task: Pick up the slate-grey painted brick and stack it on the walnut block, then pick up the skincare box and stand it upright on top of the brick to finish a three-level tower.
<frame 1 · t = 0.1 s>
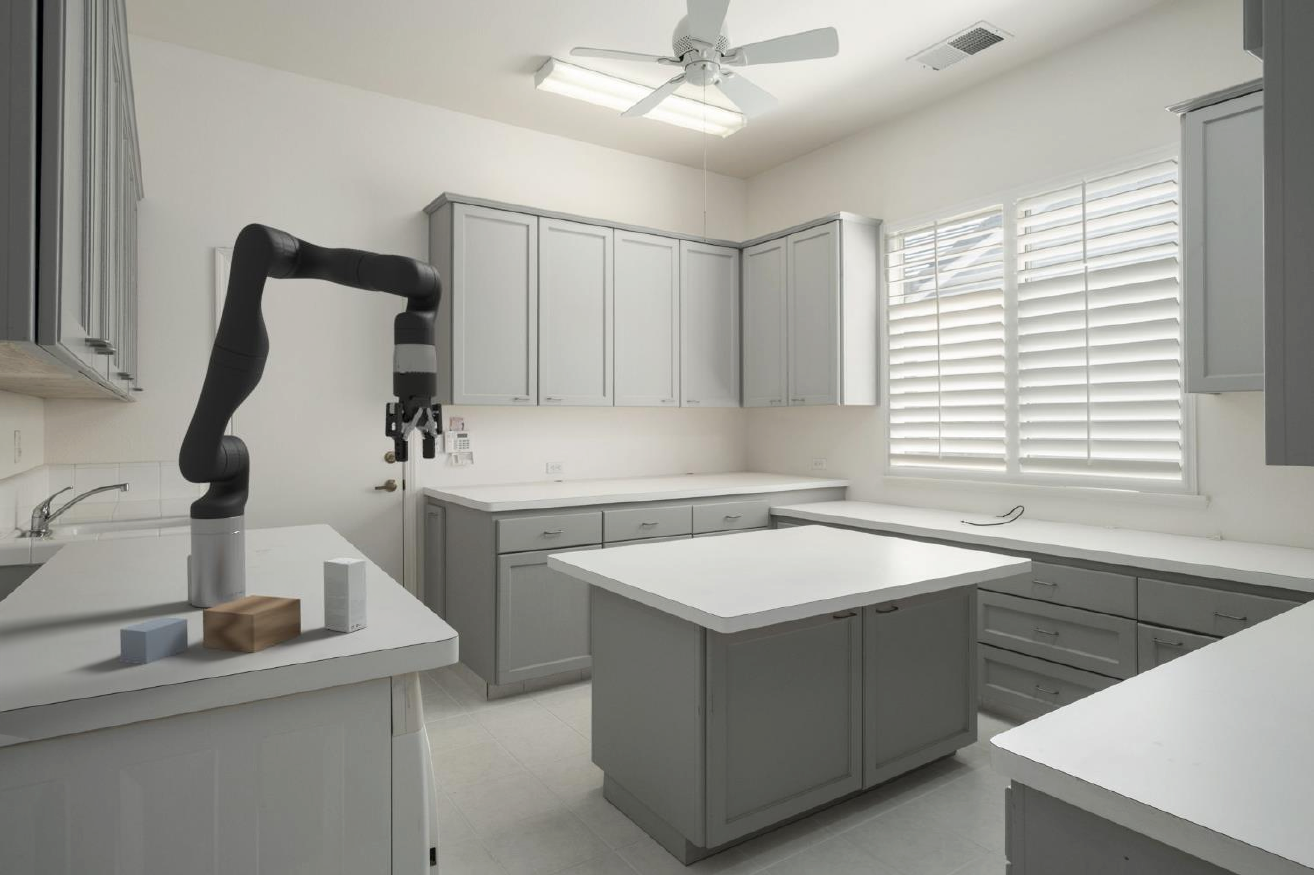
hand: (415, 460, 132), 29 cm above the countertop, tool pointing down, fingers open, 8 cm apart
slate brick: (155, 655, 113), on the countertop
skincare box: (345, 629, 127), on the countertop
walnut block: (253, 640, 120), on the countertop
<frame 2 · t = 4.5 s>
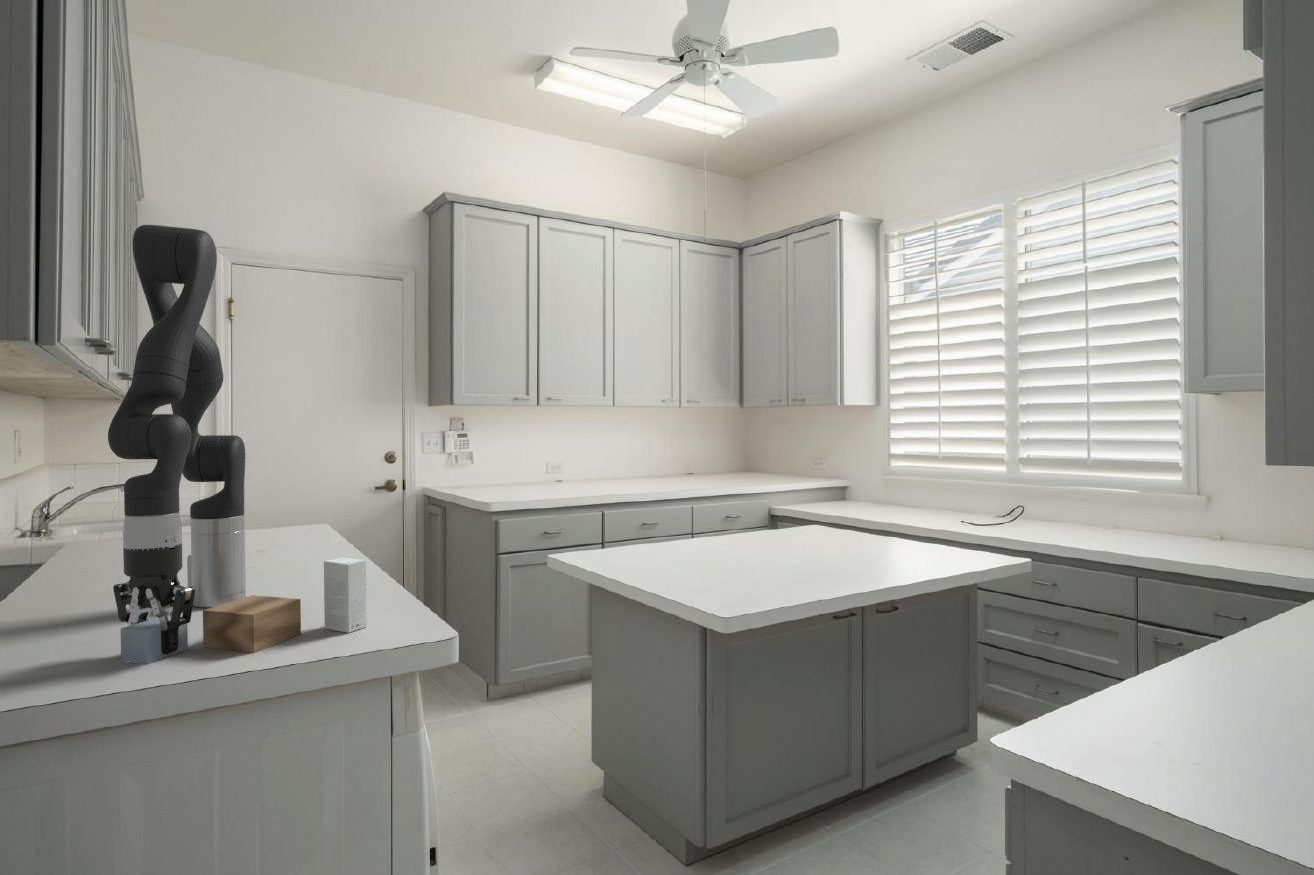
hand: (155, 650, 113), 1 cm above the countertop, tool pointing down, fingers closed on slate brick, 5 cm apart
slate brick: (155, 654, 113), on the countertop, touching gripper
everything else where it was.
when the fingers open (8 cm above the countertop, at t = 8.8 s): slate brick drops 1 cm, resting on walnut block.
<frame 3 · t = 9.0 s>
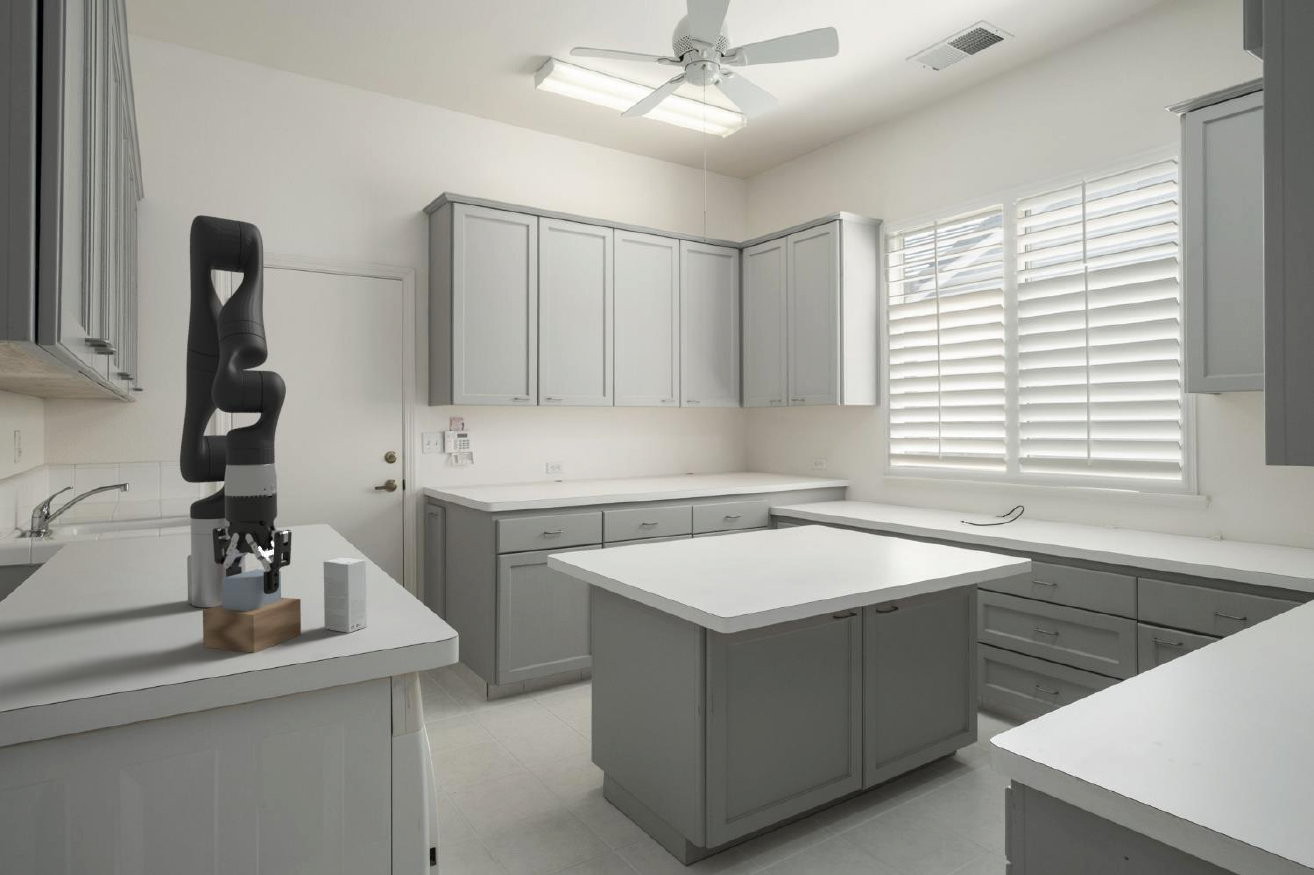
hand: (252, 591, 120), 8 cm above the countertop, tool pointing down, fingers open, 6 cm apart
slate brick: (252, 604, 120), point 6 cm above the countertop, touching walnut block
everything else where it was.
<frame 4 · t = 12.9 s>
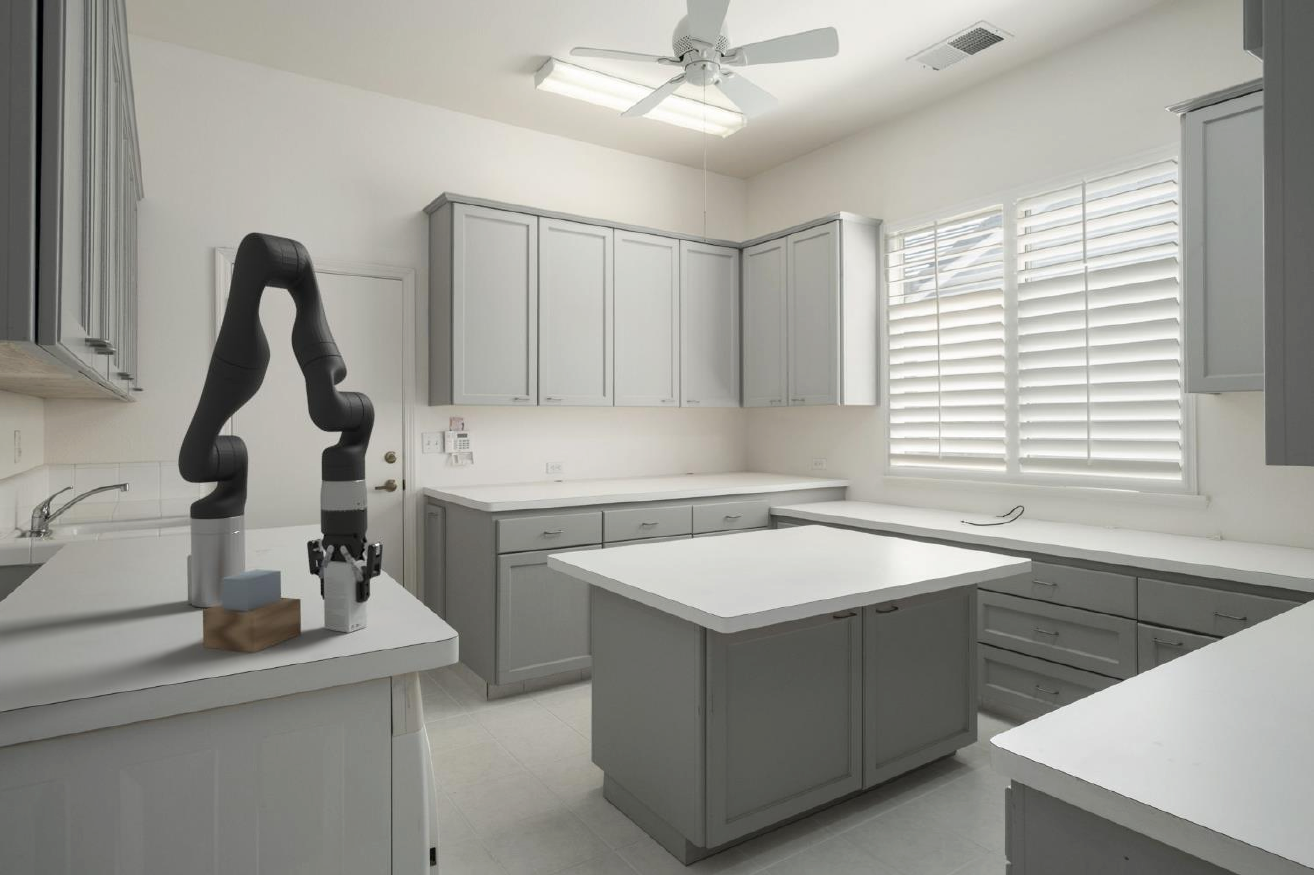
hand: (345, 600, 127), 5 cm above the countertop, tool pointing down, fingers closed on skincare box, 6 cm apart
skincare box: (345, 629, 127), on the countertop, touching gripper
everything else where it was.
when the fingers open (17 cm above the countertop, at t = 17.3 s): skincare box drops 1 cm, resting on slate brick.
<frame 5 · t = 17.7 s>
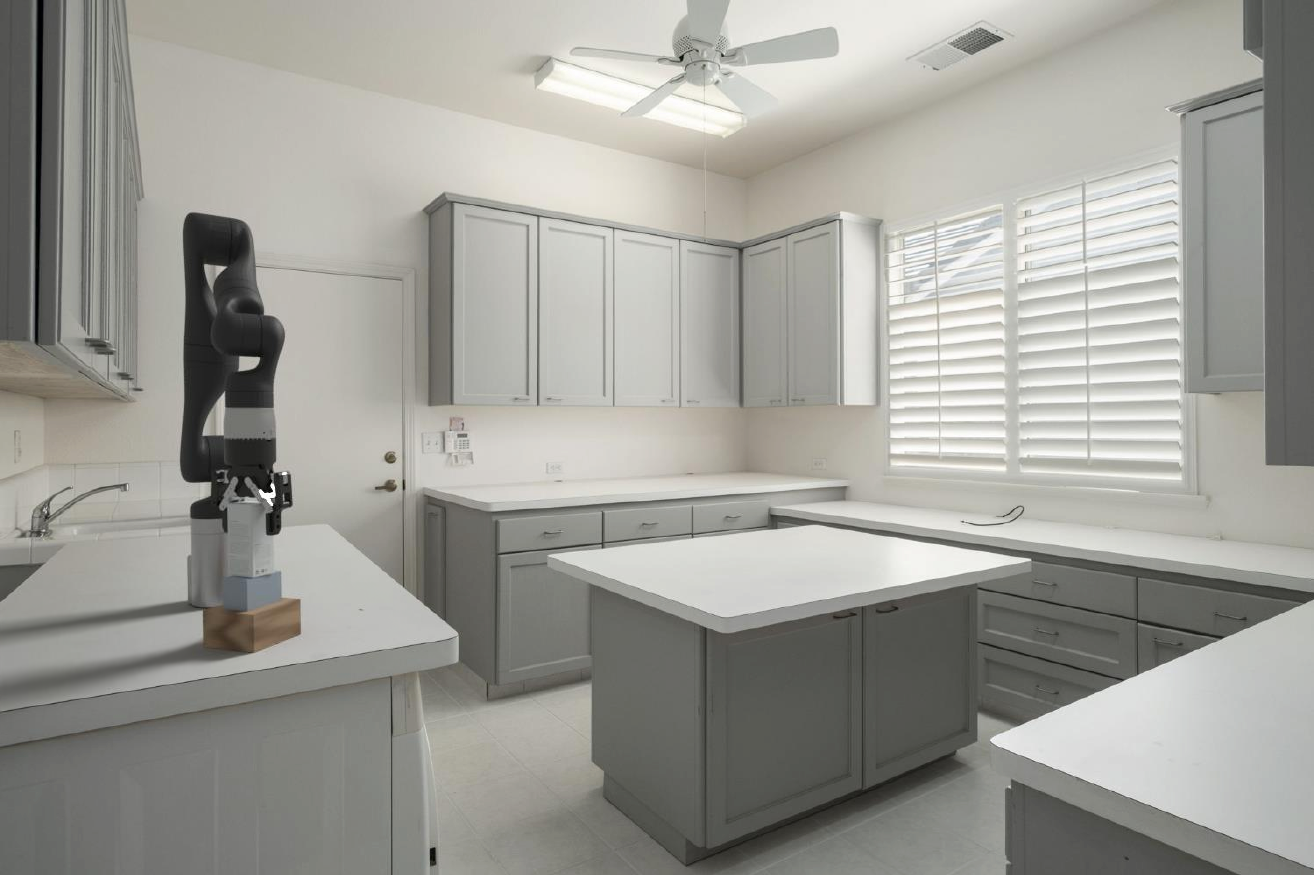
hand: (251, 533, 120), 18 cm above the countertop, tool pointing down, fingers open, 8 cm apart
slate brick: (253, 604, 120), point 6 cm above the countertop, touching skincare box, walnut block
skincare box: (251, 575, 120), point 11 cm above the countertop, touching slate brick
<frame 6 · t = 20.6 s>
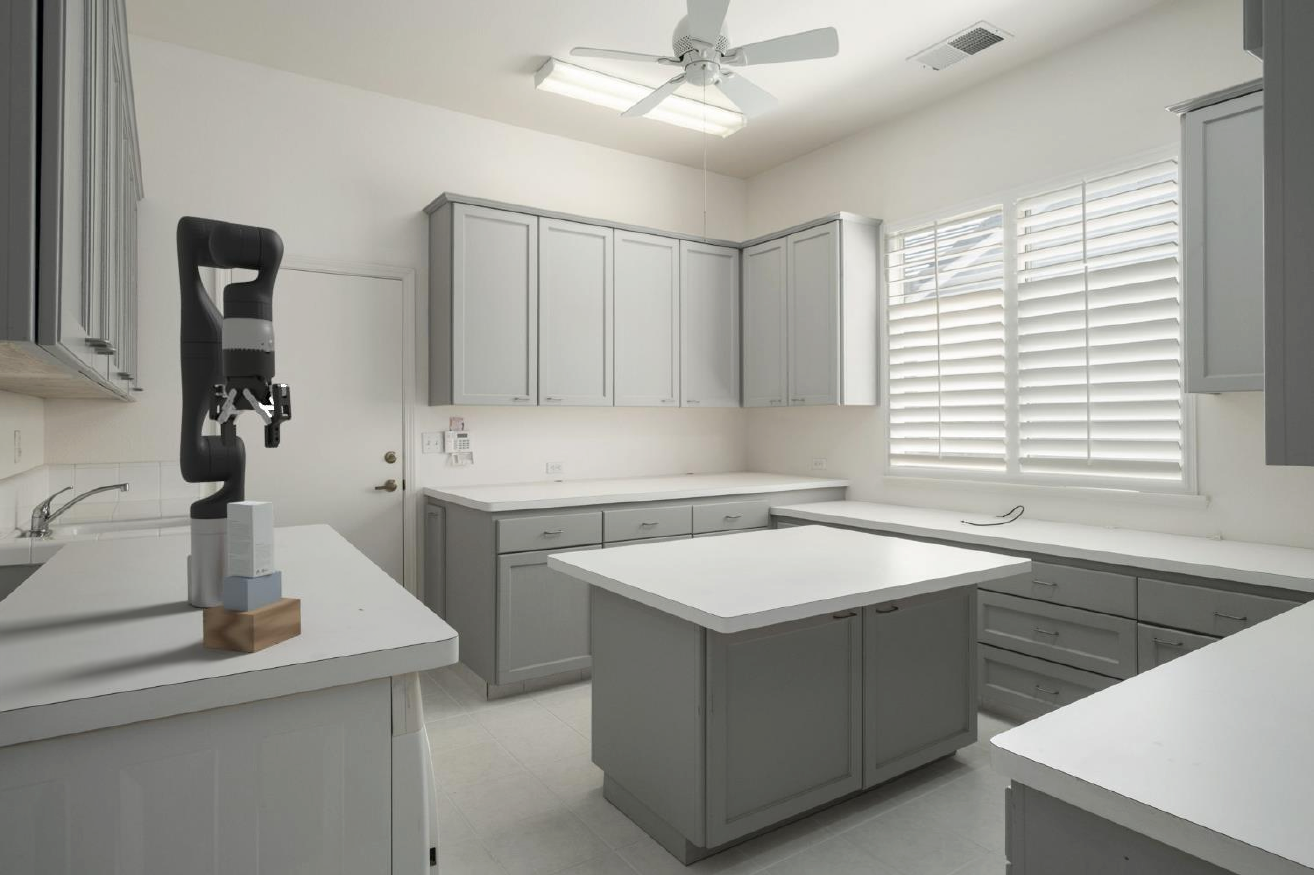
hand: (250, 447, 119), 32 cm above the countertop, tool pointing down, fingers open, 8 cm apart
nothing on the countertop moved.
at the end: slate brick 0.1 cm off-centre on the walnut block, point 6.0 cm above the walnut block's base; skincare box 0.2 cm off-centre on the walnut block, point 10.8 cm above the walnut block's base; skincare box tilted 0° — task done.
